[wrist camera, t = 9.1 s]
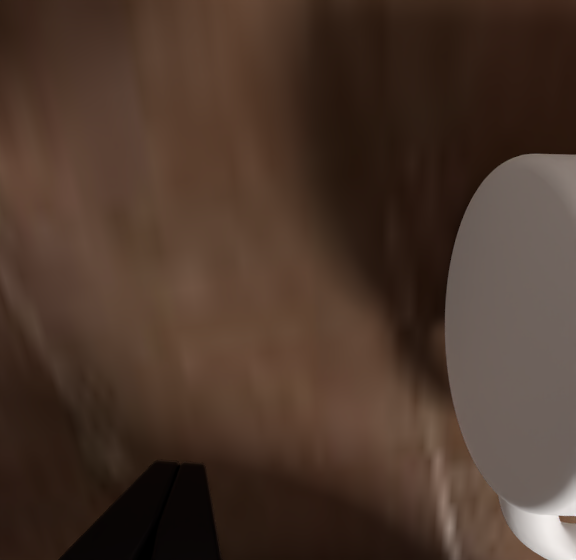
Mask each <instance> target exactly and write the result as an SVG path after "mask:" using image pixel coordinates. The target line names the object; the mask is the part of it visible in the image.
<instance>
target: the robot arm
mask: <svg viewBox="0 0 576 560" xmlns="http://www.w3.org/2000/svg"><path fill="white" fill-rule="evenodd" d="M58 560H222V556H221V551H220V545H219V539H218V534H217V528H216V522H215V517H214V511H213V505H212V499H211V494H210V488H209V482H208V477H207V471H206V466H205V464H203V463H196V462H183V463H182V464H181V465H180V463H179V462H178V461H170V460H157V461H155V462H154V463H153V464H152V465H151V466H150V467H149V468H148V469H147V470H146V471H145V472H144V473H143V474H142V475H141V476H140V477H139V478H138V479H137V480H136V481H135V482H134V483H133V484H132V485H131V486H130V487H129V488H128V489H127V490H126V491H125V492H124V493H123V494H122V495H121V496H120V497H119V498H118V499H117V500H116V501H115V502H114V503H113V504H112V505H111V506H110V507H109V508H108V509H107V510H106V511H105V512H104V513H103V515H102V516H101V517H100V518H99V519H98V520H97V521H96V522H95V523H94V524H93V525H92V526H91V527H90V528H89V529H88V530H87V531H86V532H85V533H84V534H83V535H82V536H81V537H80V538H79V539H78V540H77V541H76V542H75V543H74V544H73V545H72V546H71V547H70V548H69V549H68V550H67V551H66V552H65V553H64V554H63V555H62V556H61V557H60V558H59V559H58Z"/></svg>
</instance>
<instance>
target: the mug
mask: <svg viewBox="0 0 576 560" xmlns="http://www.w3.org/2000/svg"><path fill="white" fill-rule="evenodd" d="M445 348H446V360H447V370H448V377H449V384H450V390H451V395H452V400H453V404H454V408H455V413H456V416H457V420H458V423H459V426H460V429H461V433H462V435H463V438H464V441H465V443H466V446H467V448H468V450H469V453H470V455H471V457H472V459H473V461H474V463H475V465H476V466H477V468H478V470H479V471H480V473H481V474H482V476H483V477H484V479H485V480H486V482H487V483H488V484H489V485H490V487H491V488H492V489H493V490H494V491H495V492H496V493H497V494H498V497H499V503H500V507H501V510H502V513H503V516H504V518H505V520H506V522H507V524H508V526H509V527H510V529H511V530H512V532H513V533H514V534H515V536H516V537H517V538H518V539H519V540H520V541H521V542H522V543H523V544H525V545H526V546H527V547H528V548H530V549H531V550H532V551H534V552H535V553H537V554H538V555H540V556H542V557H544V558H546V559H548V560H576V524H572V523H564V522H560V520H559V516H558V515H561V516H576V155H568V154H526V155H521V156H517V157H514V158H512V159H510V160H508V161H505V162H504V163H502V164H501V165H499V166H498V167H497V168H495V169H494V170H493V171H492V172H491V173H490V174H489V175H488V176H487V177H486V178H485V180H484V181H483V182H482V183H481V185H480V186H479V187H478V189H477V191H476V192H475V194H474V195H473V197H472V199H471V201H470V203H469V205H468V207H467V209H466V211H465V214H464V216H463V219H462V221H461V224H460V227H459V230H458V233H457V237H456V240H455V244H454V248H453V252H452V257H451V262H450V268H449V274H448V281H447V290H446V303H445Z"/></svg>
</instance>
